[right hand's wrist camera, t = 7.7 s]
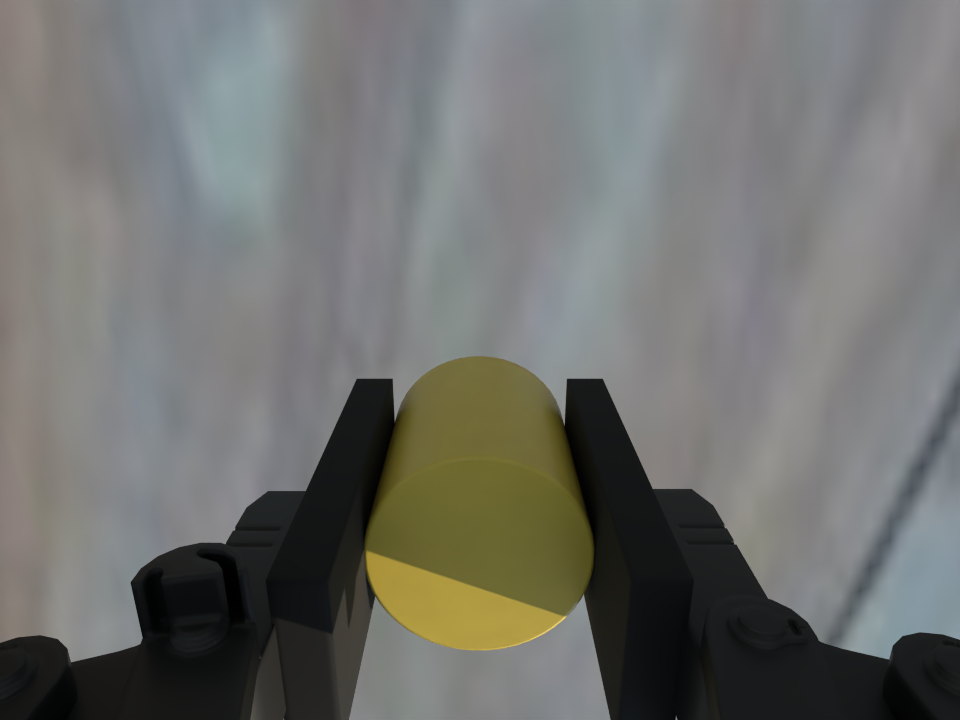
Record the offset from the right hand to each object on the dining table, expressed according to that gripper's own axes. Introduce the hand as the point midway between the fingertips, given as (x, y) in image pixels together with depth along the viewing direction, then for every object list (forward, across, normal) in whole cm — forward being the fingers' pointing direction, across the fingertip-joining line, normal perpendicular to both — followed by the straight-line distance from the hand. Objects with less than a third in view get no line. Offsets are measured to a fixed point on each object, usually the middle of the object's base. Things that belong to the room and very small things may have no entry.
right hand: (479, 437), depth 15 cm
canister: (0, 0, 0) cm, 0 cm away
